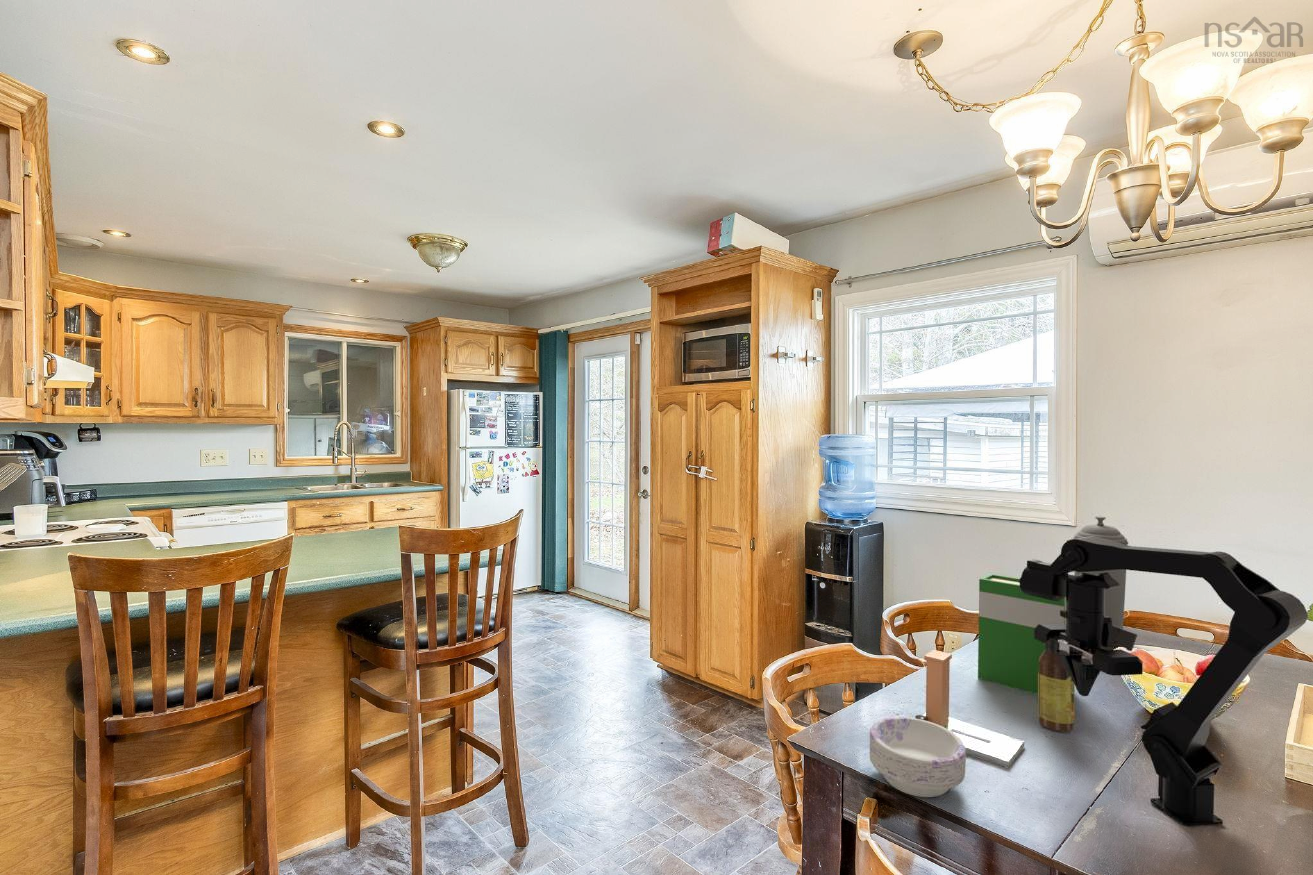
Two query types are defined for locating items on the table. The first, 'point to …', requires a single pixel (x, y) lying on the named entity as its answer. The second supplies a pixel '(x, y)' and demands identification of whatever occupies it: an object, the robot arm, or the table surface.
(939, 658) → the fader tab
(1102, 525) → the canister
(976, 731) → the fader console
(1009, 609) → the hardback book
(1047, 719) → the sauce bottle
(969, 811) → the table surface
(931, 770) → the paper bowls
